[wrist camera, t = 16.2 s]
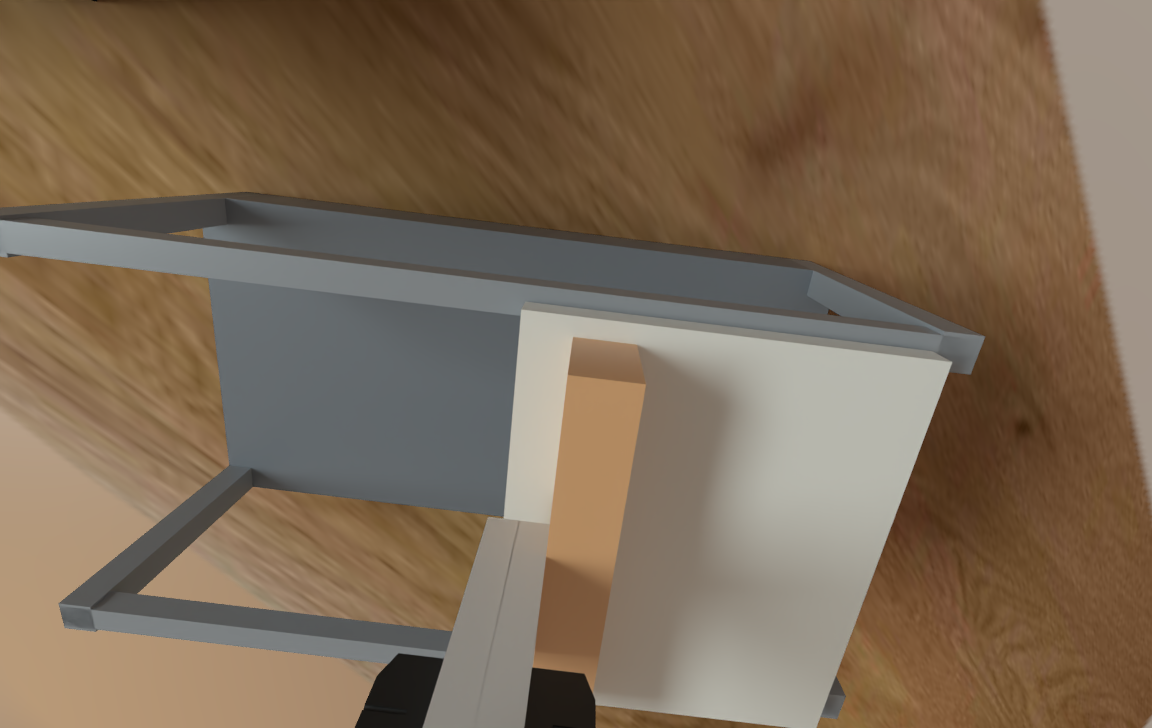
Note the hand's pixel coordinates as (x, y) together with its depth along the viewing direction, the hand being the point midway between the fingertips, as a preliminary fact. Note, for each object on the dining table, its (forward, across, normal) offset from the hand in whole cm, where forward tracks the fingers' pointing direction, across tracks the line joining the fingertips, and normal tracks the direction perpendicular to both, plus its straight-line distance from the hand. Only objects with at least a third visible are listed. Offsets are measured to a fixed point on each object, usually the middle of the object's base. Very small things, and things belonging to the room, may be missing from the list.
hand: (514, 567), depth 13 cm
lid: (+2, +4, 0) cm, 5 cm away
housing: (+14, -2, 0) cm, 14 cm away
